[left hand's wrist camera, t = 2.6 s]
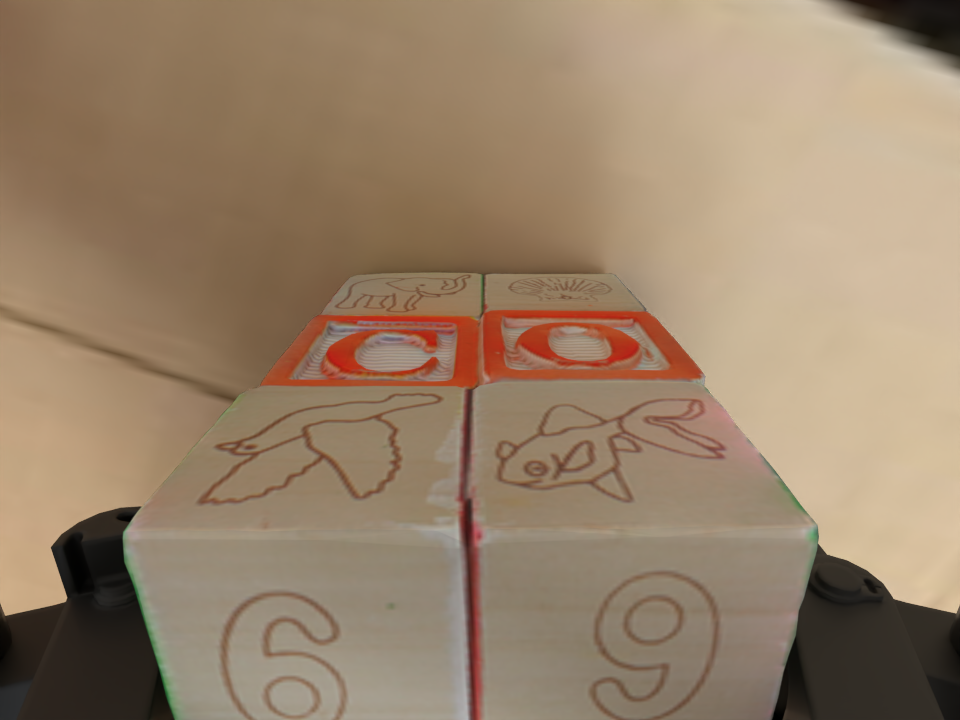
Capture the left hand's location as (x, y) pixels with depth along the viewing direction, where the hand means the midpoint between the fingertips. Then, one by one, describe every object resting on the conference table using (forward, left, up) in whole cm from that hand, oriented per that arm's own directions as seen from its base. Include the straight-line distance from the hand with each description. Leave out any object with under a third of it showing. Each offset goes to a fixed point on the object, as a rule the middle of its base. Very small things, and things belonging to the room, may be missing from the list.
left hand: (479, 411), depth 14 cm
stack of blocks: (+4, +6, -1) cm, 7 cm away
